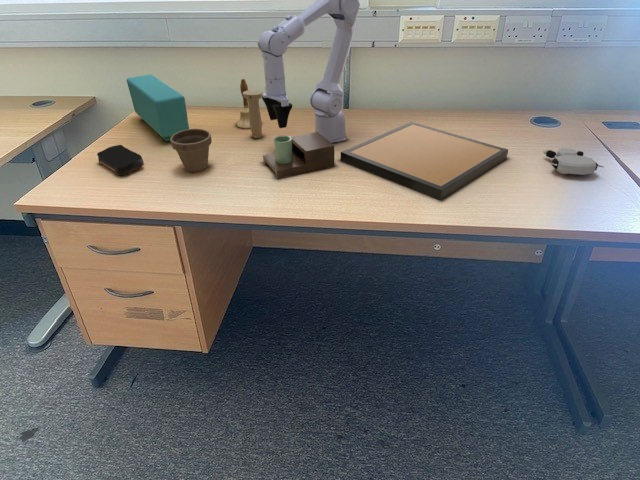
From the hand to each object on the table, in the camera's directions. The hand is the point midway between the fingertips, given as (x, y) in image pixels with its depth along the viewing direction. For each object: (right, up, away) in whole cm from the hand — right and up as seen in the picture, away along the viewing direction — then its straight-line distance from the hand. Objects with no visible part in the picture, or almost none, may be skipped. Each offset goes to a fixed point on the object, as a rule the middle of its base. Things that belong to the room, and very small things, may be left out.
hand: (278, 123), depth 138 cm
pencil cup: (+2, -12, -4) cm, 13 cm away
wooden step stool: (+6, -13, -1) cm, 14 cm away
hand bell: (-13, +7, +28) cm, 32 cm away
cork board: (+44, -11, 0) cm, 45 cm away
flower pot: (-24, -14, -2) cm, 28 cm away
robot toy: (+84, -15, -7) cm, 85 cm away
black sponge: (-47, -13, +1) cm, 49 cm away
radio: (-44, +5, +26) cm, 51 cm away
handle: (-9, 0, +18) cm, 20 cm away
